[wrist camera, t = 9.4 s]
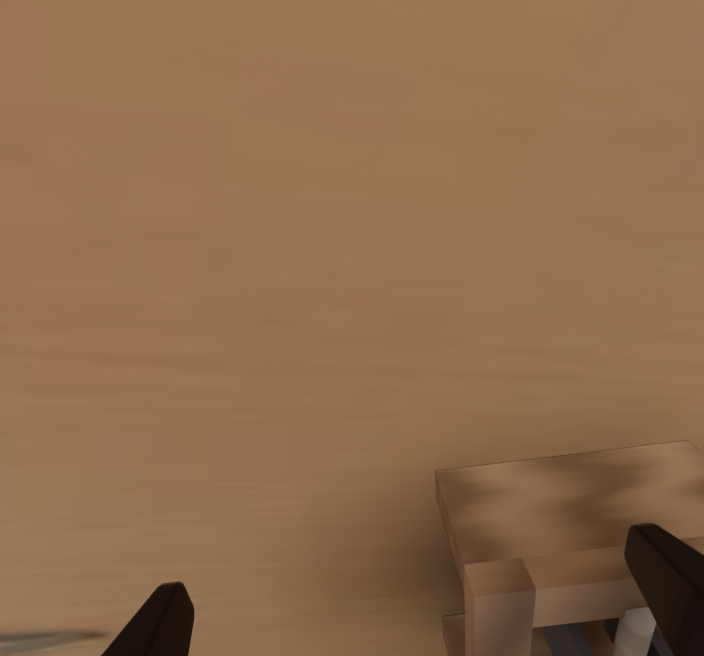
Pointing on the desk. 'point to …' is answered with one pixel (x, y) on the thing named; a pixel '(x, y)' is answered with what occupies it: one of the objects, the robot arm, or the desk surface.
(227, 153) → the desk surface
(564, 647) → the grey slotted box
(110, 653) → the robot arm
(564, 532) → the shelf
